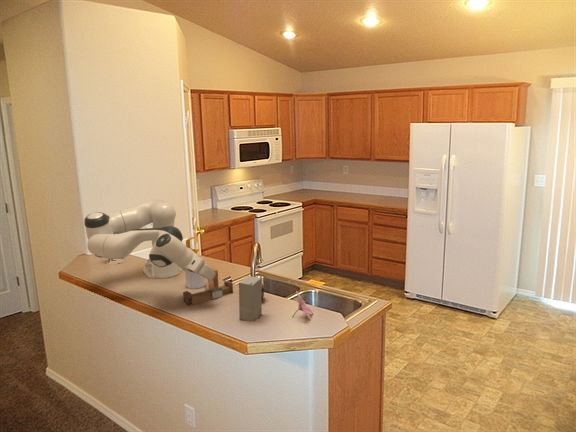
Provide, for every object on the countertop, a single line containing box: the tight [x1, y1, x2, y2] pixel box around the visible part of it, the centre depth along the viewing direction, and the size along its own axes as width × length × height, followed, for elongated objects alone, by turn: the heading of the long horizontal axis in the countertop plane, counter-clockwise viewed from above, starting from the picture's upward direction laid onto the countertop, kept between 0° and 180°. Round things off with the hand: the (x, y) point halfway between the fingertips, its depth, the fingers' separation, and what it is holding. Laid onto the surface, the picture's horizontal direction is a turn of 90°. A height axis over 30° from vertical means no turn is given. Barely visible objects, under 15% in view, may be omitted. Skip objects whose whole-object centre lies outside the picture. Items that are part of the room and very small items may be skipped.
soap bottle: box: [184, 235, 206, 289], centre depth 221 cm, size 9×9×25 cm
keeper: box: [204, 267, 223, 300], centre depth 207 cm, size 7×5×12 cm
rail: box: [182, 280, 234, 306], centre depth 206 cm, size 4×23×5 cm, turn 129°
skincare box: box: [238, 275, 263, 322], centre depth 183 cm, size 8×7×16 cm
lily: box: [292, 290, 314, 321], centre depth 182 cm, size 12×12×10 cm
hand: (209, 278), depth 205 cm, fingers closed
